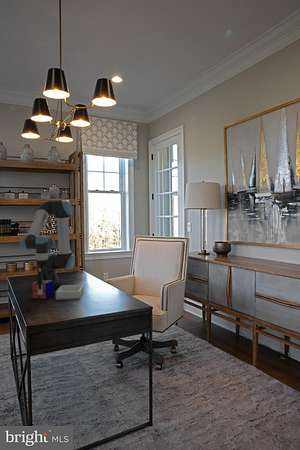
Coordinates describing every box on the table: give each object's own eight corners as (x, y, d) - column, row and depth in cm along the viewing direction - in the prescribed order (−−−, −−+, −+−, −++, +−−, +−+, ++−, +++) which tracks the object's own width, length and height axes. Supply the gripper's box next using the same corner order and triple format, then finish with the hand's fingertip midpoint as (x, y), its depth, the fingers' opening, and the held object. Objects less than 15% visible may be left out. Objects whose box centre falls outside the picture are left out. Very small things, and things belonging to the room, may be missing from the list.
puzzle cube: (46, 299, 211) (46, 283, 211) (32, 298, 213) (31, 283, 213) (54, 295, 221) (53, 280, 221) (40, 294, 223) (39, 279, 223)
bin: (61, 292, 227) (61, 285, 227) (83, 291, 229) (83, 284, 228) (55, 299, 208) (55, 291, 208) (80, 298, 210) (79, 291, 209)
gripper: (41, 257, 228) (41, 288, 229) (30, 262, 204) (31, 296, 204) (52, 257, 229) (53, 287, 230) (43, 261, 204) (44, 296, 205)
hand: (43, 292), depth 217 cm, fingers open, 13 cm apart
